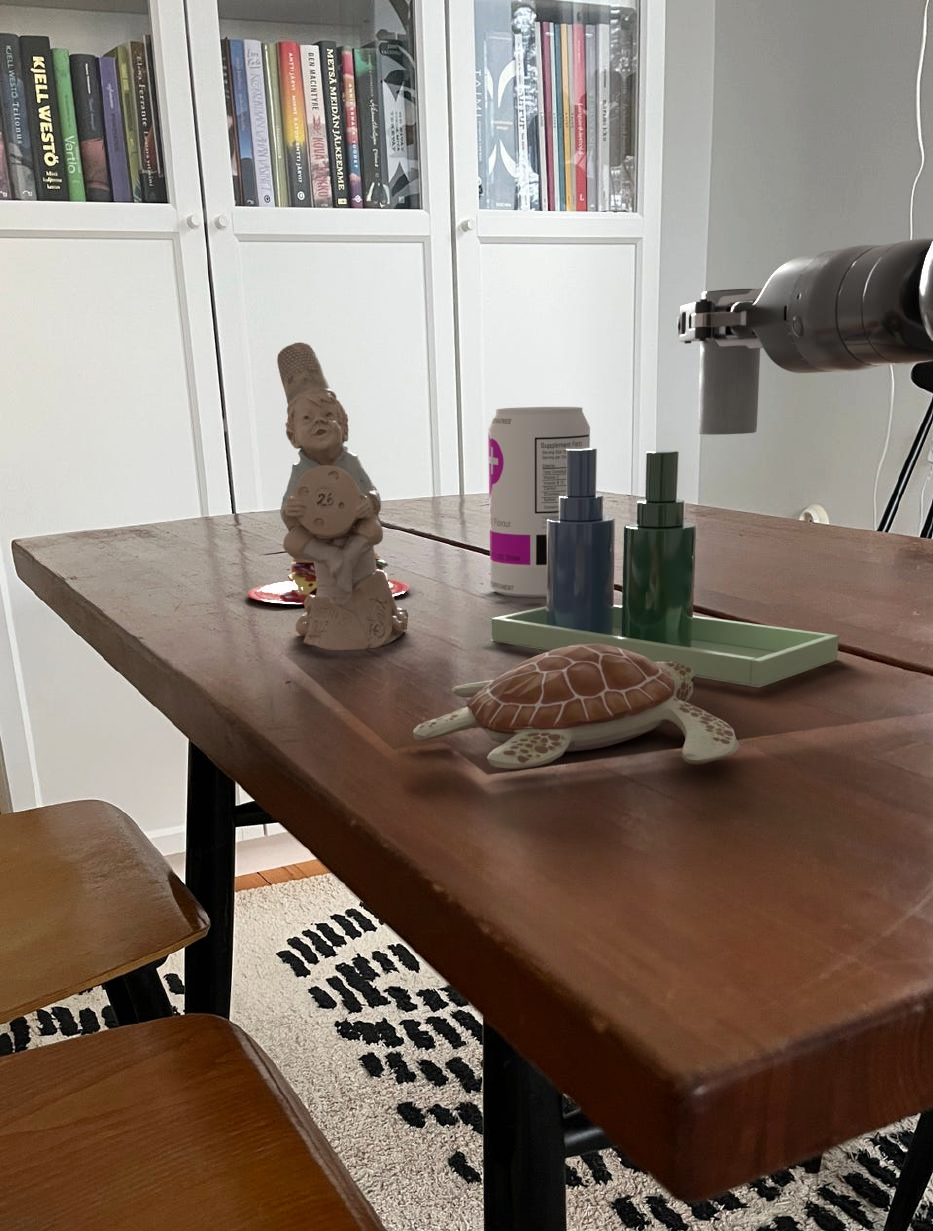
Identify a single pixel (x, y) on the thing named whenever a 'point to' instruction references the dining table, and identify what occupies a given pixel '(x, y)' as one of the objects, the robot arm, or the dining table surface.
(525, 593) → the supplement can
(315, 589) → the red plate
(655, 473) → the green bottle
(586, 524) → the blue bottle
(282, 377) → the figurine
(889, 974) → the dining table surface
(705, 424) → the grey cylinder
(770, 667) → the tray
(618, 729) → the decorative turtle
